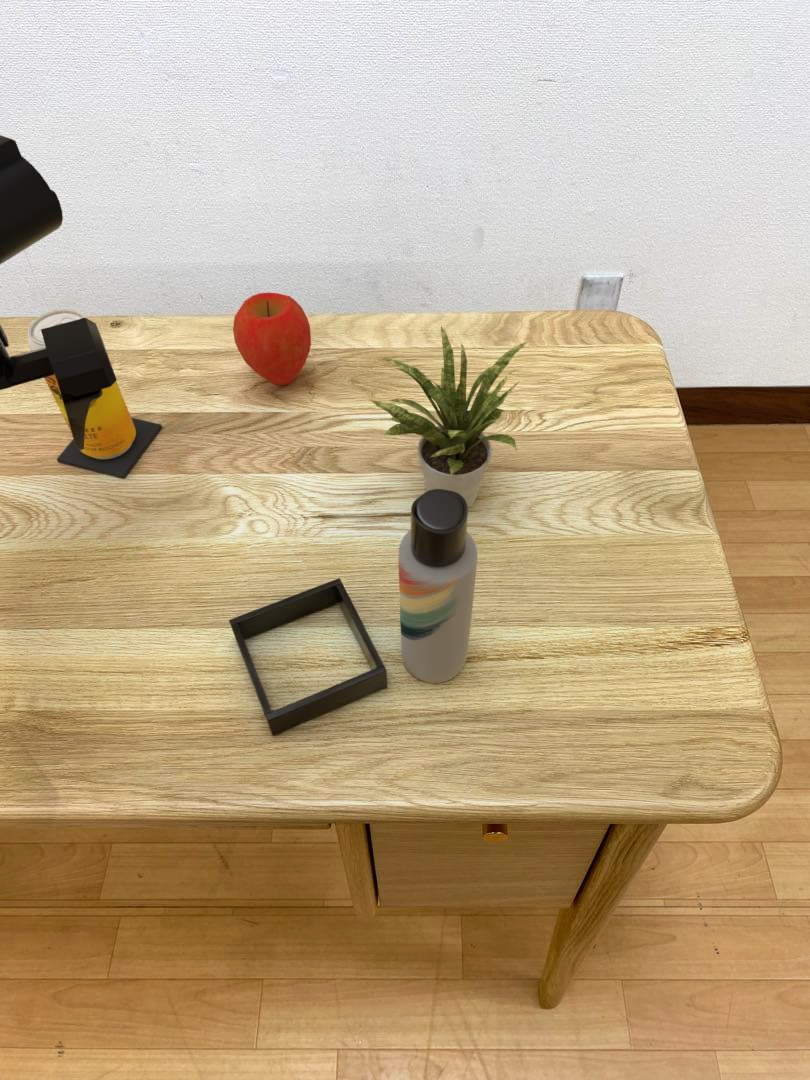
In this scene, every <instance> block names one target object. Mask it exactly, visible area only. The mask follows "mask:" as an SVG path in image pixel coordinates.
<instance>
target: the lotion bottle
mask: <svg viewBox="0 0 810 1080" xmlns="http://www.w3.org/2000/svg"><path fill="white" fill-rule="evenodd" d="M468 519H469V508H468V506H467V503H466V501H465V499H464V498H463V497H462V496H461V495H460V494H458V493H456V492H454V491H450V490H444V489H433V490H429V491H426V492H424V493H423V494H421V495H420V496H418V497H417V498H416V499H415V500H414V501H413V502H412V504H411V508H410V529H409V530H408V531H407V532H406V533H405V534H404V536H403V537H402V539H401V541H400V543H399V547H398V554H397V555H398V557H397V558H398V560H397V562H398V589H399V591H398V593H399V595H398V596H399V624H400V626H399V628H400V650H401V652H400V653H401V659H402V662H403V664H404V666H405V669H406V670H407V671H408V673H409V674H411V675H412V676H413V677H414V678H416V679H418V680H420V681H421V682H425V683H428V684H429V683H430V684H440V683H446V682H448V681H450V680H452V679H454V678H455V677H456V676H457V675H459V673H460V672H461V671H462V670H463V668H464V667H465V665H466V661H467V657H468V651H469V643H470V634H471V633H470V632H471V626H472V624H471V623H472V617H473V607H474V597H475V596H474V595H475V586H476V577H477V569H478V568H477V567H478V547H477V544H476V542H475V540H474V538H473V536H472V535H471V534H470V533H469V532H468V521H469V520H468Z"/></svg>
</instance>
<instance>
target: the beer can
mask: <svg viewBox="0 0 810 1080" xmlns="http://www.w3.org/2000/svg"><path fill="white" fill-rule="evenodd" d="M82 318H87V316H86V315H85V314H84V313H83V312H82V311H80V310H78V309H74V308H58V309H53V310H49V311H47V312H44V313H42V314H40V315H39V316H37V317H35V318H34V319H33V320H32V321H31V322H30V323H29V325H28V328H27V337H28V339H27V345H28V348H29V351H33V350H37V349H40V348H44V347H46V346H45V343H44V339H43V335H42V332H41V329H44V328H48V327H52V326H56V325H59V324H63V323H67V322H71V321H74V320H78V319H82ZM43 379H44V381H45V383H46V385H47V386H48V388H49V391H50V393H51V394H52V397H53V399H54V400H55V403H56V405H57V407H58V409H59V411H60V413H61V415H62V417H63V419H64V421H65V424H66V425H67V427H68V430H69V432H70V433H71V434H72V432H71V428H70V425H69V421H68V418H67V414H66V411H65V407H64V404H63V400H62V397H61V393H60V389H59V386H58V382H57V379H56V377H55V375H52V376H48V377H44V378H43ZM102 391H103V394H102V396H101V397H99V398H97V399H94V400H92V401H91V403H90V407H89V411H88V414H87V418H86V423H85V440H84V449H83V450H80V451H81V452H83V453H84V454H86V455H88V456H91V457H93V458H96V459H111V458H115V457H117V456H120V455H121V454H123V453H124V452H126V451H127V450H128V449H129V448H130V446H131V445H132V442H133V441H134V439H135V436H136V429H135V426H134V424H133V421H132V419H131V418H132V415H131V414H130V412H129V409H128V406H127V404H126V401H125V399H124V395H123V394H122V390H121V389H120V386H119V384H118V381H117V380H116V381H115V383H114V384H113V385H112V386H111V387H108V388H104V389H102Z"/></svg>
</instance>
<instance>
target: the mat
mask: <svg viewBox="0 0 810 1080" xmlns="http://www.w3.org/2000/svg"><path fill="white" fill-rule="evenodd" d="M131 419H132V421H133V424H134V426H135V429H136V436H135V439H134V441H133V442H132V445H131V446H130V448H129V449H128V450H127V451H126V452H124V453H123V454H121V455H120V456H117V457H115V458H111V459H96V458H93V457H91V456H88V455H86V454H84V453H83V452H81V451H80V450H79V449H78V447H77V446H76V444H75V442H74V439H72V440H71V441H70V442H69V444H67V446H66V447H65V449H64V450H63V451H62V452H61V453H60V455H58V457H57V458H56V460H57V463H60V464H63V465H68V466H72V467H74V468H75V467H76V468H79V469H84V470H87V471H90V472H96V473H100V474H104V475H108V476H111V477H116V478H119V479H126V477H127V476H128V475H129V473H130V472H131V471H132V469H133V468H134V466H135V465H136V464H137V463H138V461H139V460H140V458H141V457H142V456H143V454H144V453H145V452H146V451H147V449H148V448H149V447H150V445H151V443H153V441H154V439H155V438H156V437H157V436H158V434H159V433H160V431H161V430H162V429H163V426H162V424H160V423H158V422H157V423H156V422H152V421H148V420H143V419H140V418H135V417H131Z"/></svg>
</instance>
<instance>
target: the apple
mask: <svg viewBox="0 0 810 1080" xmlns="http://www.w3.org/2000/svg"><path fill="white" fill-rule="evenodd" d="M232 332H233V339H234V343H235V346H236V348H237V350H238V352H239V354H240V355H241V358H242V359H243V361H244V362H245V364H246V365H247V366H248V367H249V368H250V369H251V370H252V371H253V372H254V373H256V374H257V375H259V376H260V377H262V378H263V379H264V380H266V381H267V382H270V383H271V384H273V385H275V386H285V385H289V384H291V383H292V382H293V381H294V380H295V379H296V377H297V376H298V374H299V373H300V372H301V371H302V369H303V368H304V366H305V365H306V361H307V359H308V357H309V354H310V351H311V348H312V347H311V346H312V337H311V336H312V335H311V325H310V321H309V319H308V316H307V315H306V313H305V310H304V308H303V307H302V306H301V304H300V303H298V302H297V301H296V300H295V299H294V298H293V297H291V296H290V295H287V294H284V293H283V294H282V293H278V292H260V293H257V294H253V295H251V296H250V297H248V298H247V299H245V300H244V301H243V303H242V304H241V306H240V308H239V309H238V310H237V312H236V313H235V315H234V318H233V326H232Z"/></svg>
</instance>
